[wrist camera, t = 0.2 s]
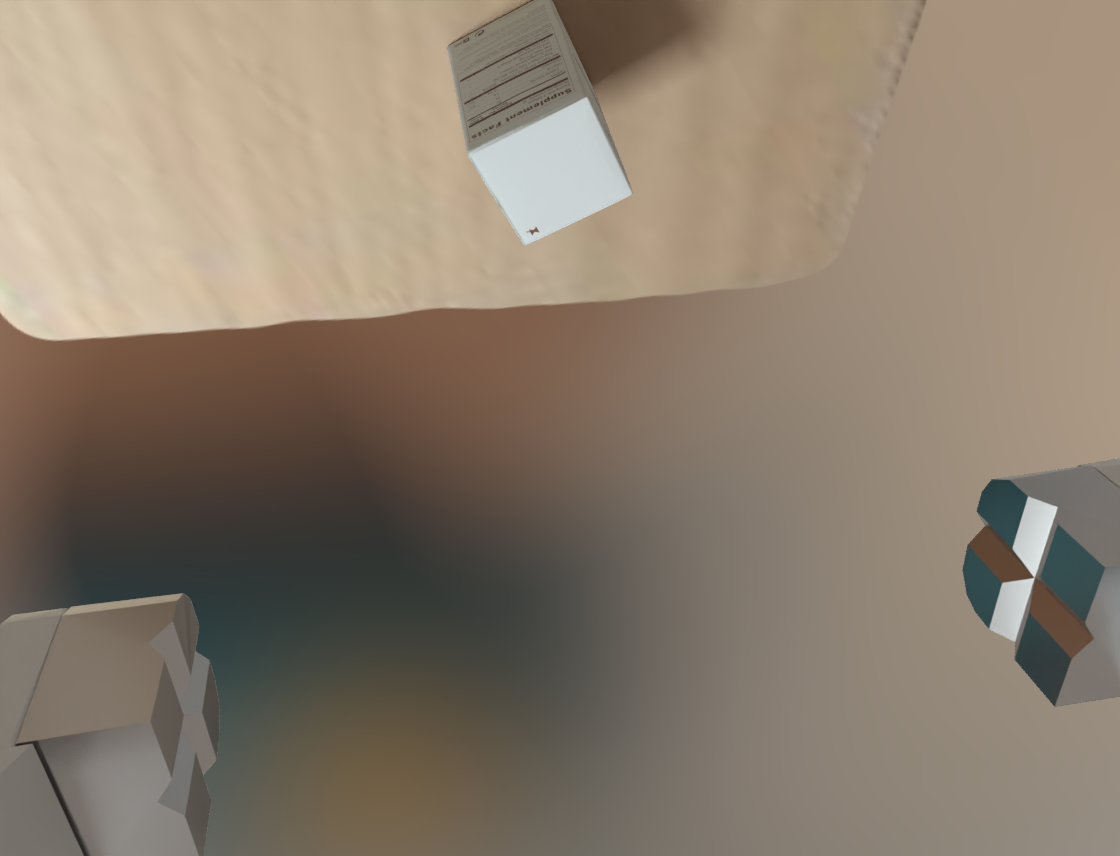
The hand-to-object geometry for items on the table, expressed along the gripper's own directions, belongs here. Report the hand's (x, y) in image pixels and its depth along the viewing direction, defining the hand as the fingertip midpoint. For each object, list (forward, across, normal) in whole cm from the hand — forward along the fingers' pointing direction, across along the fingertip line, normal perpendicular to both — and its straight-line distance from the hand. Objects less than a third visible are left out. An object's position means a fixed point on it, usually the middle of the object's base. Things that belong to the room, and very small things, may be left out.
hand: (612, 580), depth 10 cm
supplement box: (+56, -8, +5) cm, 57 cm away
